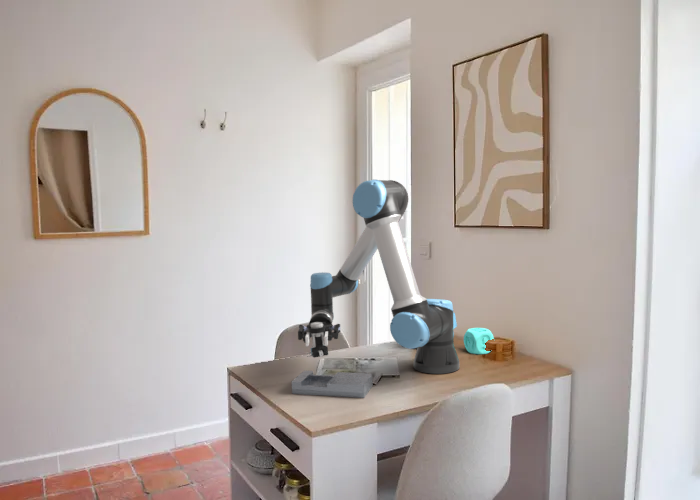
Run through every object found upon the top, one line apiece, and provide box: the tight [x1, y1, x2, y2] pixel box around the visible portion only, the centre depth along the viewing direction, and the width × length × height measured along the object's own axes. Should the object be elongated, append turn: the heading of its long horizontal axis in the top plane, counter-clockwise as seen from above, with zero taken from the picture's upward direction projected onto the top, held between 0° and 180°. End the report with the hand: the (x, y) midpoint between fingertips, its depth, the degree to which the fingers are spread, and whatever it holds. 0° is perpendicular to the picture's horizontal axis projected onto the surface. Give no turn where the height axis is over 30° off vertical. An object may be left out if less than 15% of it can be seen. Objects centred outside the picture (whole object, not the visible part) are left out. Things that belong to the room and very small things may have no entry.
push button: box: [306, 322, 329, 359], centre depth 168 cm, size 7×5×10 cm
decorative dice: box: [463, 327, 495, 355], centre depth 204 cm, size 8×8×8 cm
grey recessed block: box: [291, 370, 374, 399], centre depth 168 cm, size 22×11×4 cm, turn 75°
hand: (316, 341), depth 162 cm, fingers closed on push button, 5 cm apart
